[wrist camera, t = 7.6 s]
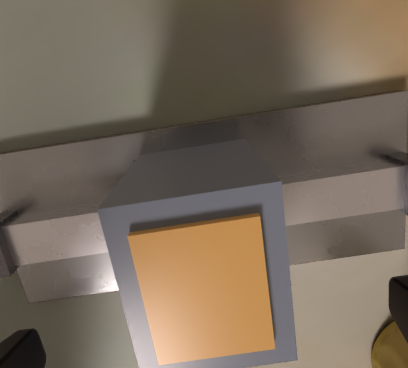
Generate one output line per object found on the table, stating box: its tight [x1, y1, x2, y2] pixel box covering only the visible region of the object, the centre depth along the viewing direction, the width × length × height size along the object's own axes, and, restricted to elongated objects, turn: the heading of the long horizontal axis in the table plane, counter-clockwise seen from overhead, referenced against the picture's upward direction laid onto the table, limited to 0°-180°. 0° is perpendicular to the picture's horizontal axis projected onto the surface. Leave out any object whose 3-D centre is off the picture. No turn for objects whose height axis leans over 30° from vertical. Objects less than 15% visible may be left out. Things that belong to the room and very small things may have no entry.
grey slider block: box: [97, 139, 298, 368], centre depth 13 cm, size 6×5×7 cm
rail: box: [0, 90, 408, 303], centre depth 16 cm, size 8×20×3 cm, turn 99°
